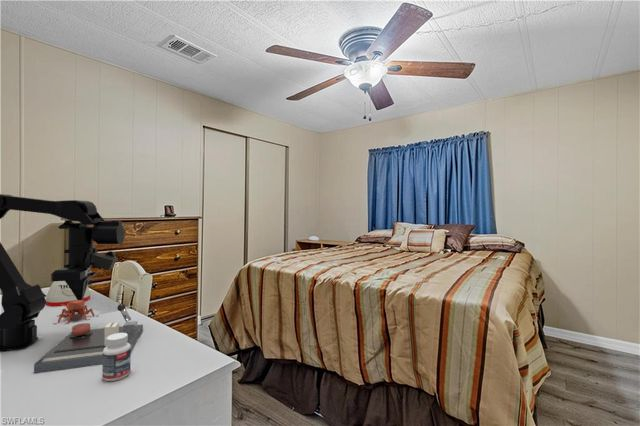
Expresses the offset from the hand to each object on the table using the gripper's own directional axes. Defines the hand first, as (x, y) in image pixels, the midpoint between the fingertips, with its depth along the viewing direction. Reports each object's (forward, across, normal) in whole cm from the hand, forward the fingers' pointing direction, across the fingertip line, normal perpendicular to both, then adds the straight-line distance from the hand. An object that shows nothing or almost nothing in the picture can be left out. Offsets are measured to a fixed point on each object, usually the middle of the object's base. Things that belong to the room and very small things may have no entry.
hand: (80, 299), depth 87 cm
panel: (+12, -7, -6) cm, 15 cm away
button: (+9, -1, -1) cm, 9 cm away
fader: (+9, -11, -11) cm, 18 cm away
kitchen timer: (+12, +46, +21) cm, 52 cm away
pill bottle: (+12, -24, -16) cm, 31 cm away
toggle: (+7, -1, -12) cm, 14 cm away
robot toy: (+12, +24, +10) cm, 29 cm away
